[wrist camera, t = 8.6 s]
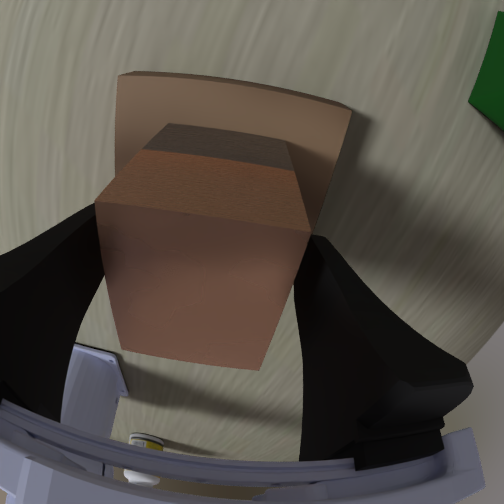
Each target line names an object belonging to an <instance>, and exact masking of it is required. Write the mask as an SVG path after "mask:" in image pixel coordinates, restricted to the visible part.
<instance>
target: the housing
mask: <svg viewBox="0 0 504 504" xmlns="http://www.w3.org/2000/svg"><path fill="white" fill-rule="evenodd" d="M95 211H96V220H97V228H98V236H99V243H100V250H101V256H102V262H103V268H104V273H105V279H106V284H107V289H108V294H109V299H110V304H111V308H112V313H113V317H114V321H115V325H116V329H117V333H118V337H119V341H120V345H121V349H122V350H127V351H131V352H136V353H141V354H146V355H151V356H156V357H162V358H168V359H173V360H179V361H186V362H192V363H199V364H206V365H213V366H221V367H230V368H238V369H248V370H259V369H260V367H261V365H262V362H263V360H264V357H265V355H266V352H267V350H268V347H269V345H270V342H271V340H272V337H273V335H274V332H275V330H276V327H277V324H278V322H279V319H280V317H281V314H282V312H283V309H284V306H285V304H286V301H287V298H288V296H289V293H290V290H291V288H292V285H293V282H294V280H295V277H296V274H297V271H298V269H299V266H300V263H301V260H302V258H303V255H304V252H305V249H306V246H307V244H308V241H309V238H310V235H311V229H310V225H309V222H308V218H307V214H306V210H305V207H304V203H303V200H302V196H301V192H300V189H299V185H298V182H297V179H296V175H295V172H294V168H293V165H292V162H291V158H290V155H289V152H288V149H287V145H286V142H285V140H282V139H277V138H272V137H266V136H261V135H255V134H249V133H243V132H237V131H230V130H224V129H217V128H209V127H201V126H193V125H184V124H174V123H168V124H167V125H166V126H165V127H164V128H162V129H161V130H160V131H159V132H158V133H157V134H156V135H155V136H154V137H153V138H152V139H151V140H150V141H149V142H148V143H147V144H146V145H145V146H144V147H143V148H142V149H141V150H140V151H139V152H138V153H137V154H136V155H135V156H134V157H133V158H132V159H131V160H130V161H129V162H128V164H127V165H126V166H125V167H124V168H123V169H122V170H121V171H120V172H119V173H118V174H117V175H116V177H115V178H114V179H113V180H112V181H111V182H110V183H109V184H108V185H107V187H106V188H105V189H104V190H103V191H102V192H101V194H100V195H99V196H98V197H97V198H96V199H95Z"/></svg>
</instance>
